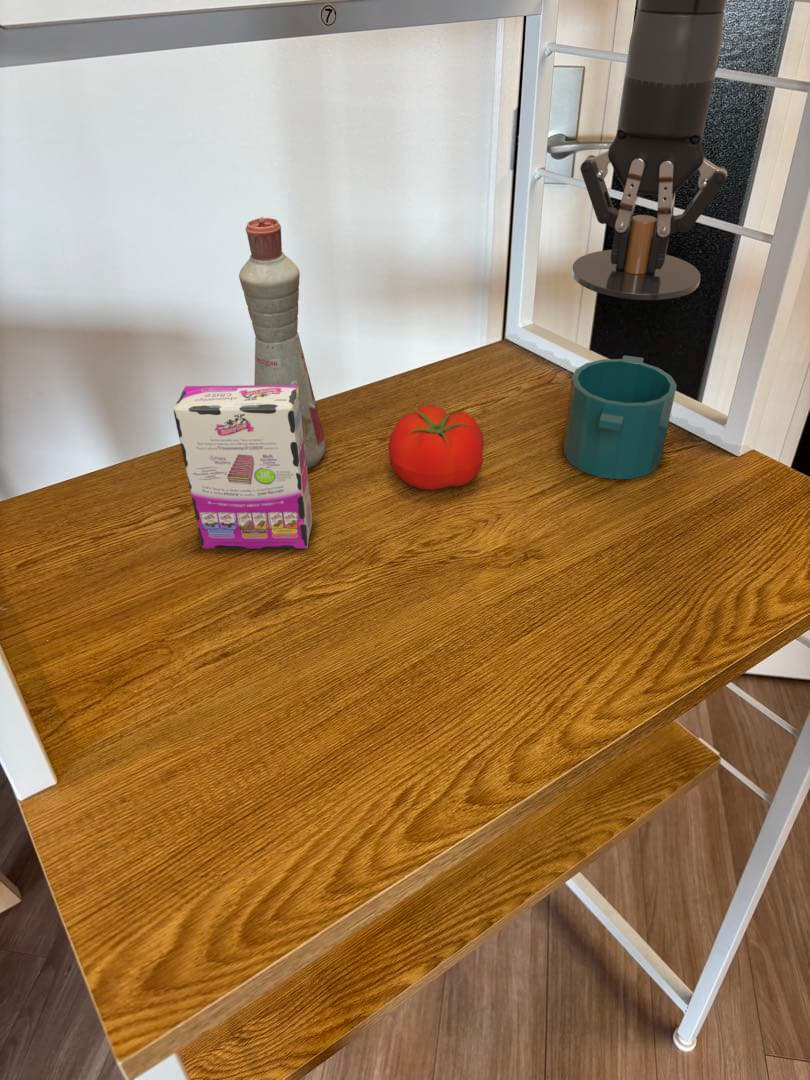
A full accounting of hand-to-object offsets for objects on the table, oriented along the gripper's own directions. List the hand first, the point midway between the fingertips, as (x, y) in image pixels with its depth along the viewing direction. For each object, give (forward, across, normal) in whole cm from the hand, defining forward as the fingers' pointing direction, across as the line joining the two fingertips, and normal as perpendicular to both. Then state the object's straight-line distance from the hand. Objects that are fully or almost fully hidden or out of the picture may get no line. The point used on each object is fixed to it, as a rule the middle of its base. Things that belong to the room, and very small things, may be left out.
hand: (636, 269), depth 82 cm
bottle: (+24, -36, -10) cm, 44 cm away
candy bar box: (+24, -32, -25) cm, 47 cm away
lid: (+1, 0, 0) cm, 1 cm away
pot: (+23, 0, +4) cm, 24 cm away
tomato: (+24, -18, -8) cm, 31 cm away
